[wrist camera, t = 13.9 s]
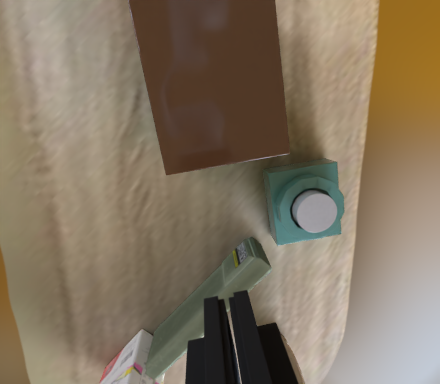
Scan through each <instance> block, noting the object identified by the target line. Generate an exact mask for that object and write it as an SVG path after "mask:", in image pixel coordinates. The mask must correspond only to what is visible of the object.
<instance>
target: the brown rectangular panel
mask: <svg viewBox="0 0 440 384" xmlns="http://www.w3.org/2000/svg"><path fill="white" fill-rule="evenodd" d="M128 4H129V8H130V13H131V17H132V22H133V26H134V31H135V36H136V40H137V45H138V49H139V54H140V58H141V63H142V68H143V72H144V77H145V81H146V86H147V90H148V95H149V100H150V104H151V109H152V113H153V118H154V122H155V127H156V132H157V136H158V141H159V145H160V150H161V154H162V159H163V164H164V168H165V173H166V175H172V174H177V173H183V172H189V171H194V170H200V169H206V168H212V167H217V166H223V165H229V164H235V163H240V162H246V161H252V160H257V159H263V158H269V157H275V156H280V155H286V154H290V147H289V137H288V127H287V117H286V107H285V96H284V86H283V76H282V66H281V56H280V46H279V35H278V25H277V15H276V5H275V0H128Z"/></svg>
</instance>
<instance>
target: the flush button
mask: <svg viewBox="0 0 440 384" xmlns="http://www.w3.org/2000/svg"><path fill="white" fill-rule="evenodd" d="M292 215H293V218H294V219H295V221H296V222H297V223H298V224H299V225H300V226H301V227H302V228H303V229H304V230H306V231H308V232H313V233H317V232H322V231H324V230H326V229H328V228H329V227H330V226H331V225H332V224H333V222H334V221H335V219H336V215H337V207H336V204H335V202H334V200H333V199H332V198H331V197H329V196H328V195H326V194H324V193H323V192H321V191H318V190H308V191H305V192H303V193H301V194H300V195H299V196H298V197H297V198H296V199H295V201H294V203H293V206H292Z"/></svg>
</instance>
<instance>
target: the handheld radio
mask: <svg viewBox="0 0 440 384" xmlns="http://www.w3.org/2000/svg"><path fill="white" fill-rule="evenodd" d="M271 270H272V268H271V266H270V263H269V261H268V259H267V257H266V254H265V252H264V250H263V248H262V246H261V244H260V243H259V242H258V241H257V240H255V239H254V238H253V237H249V238H248V239H245V240H244V241H243V242H242V243H241V244H240V245H239V246H238V247H237V248H236V249H235V250H234V251H232V252H231V253H230V254H229V255H228V256H227V257H226V258H225V259H224V260H223V262H222V264H221V265H220V266H219V267H218V268H217V269H216V270H215V271H214V272H213V273H212V274H211V275H210V276H209V277H208V278H207V279H206V280H205V281H204V282H203V283H202V284H201V285H200V286H199V287H198V288H197V289H196V290H195V291H194V292H193V293H192V294H191V295H190V296H189V297H188V298H187V299H186V300H185V301H184V302H183V303H182V304H181V305H180V306H179V307H178V308H177V309H176V310H175V311H174V312H173V313H172V314H171V315H170V316H169V317H168V318H167V319H166V320H165V321H164V322H163V323H162V324H161V325H160V326H159V327H158V328H157V329H156V330H155V332H154V336H153V339H152V343H151V347H150V351H149V354H148V358H147V362H146V372H145V374H146V375H148V376H149V377H150V378H152V379H153V380H154V379H155V378H158V377H160V376H161V375H162V374H164V373H165V372H166V371H167V370H168V369H169V368H170V367H171V366H172V365H173V364H174V363H175V362H176V361H177V360H178V359H179V358H180V357H181V356H182V355H184V354H185V353H186V352H187V345H188V341H189V340H193V339H198V338H201V337H203V336H204V298H209V297H214V296H218V298H219V299H224V301H225V306H226V310H227V313H228V312H229V311H230V305H229V299H228V298H229V297H234V294H233V292H238V291H243V290H247V291H248V293H249V292H250V291H251V290H252V289H253V288H254V287H255V286H256V285H257V284H258V283H259V282H260V281H261V280H262V279H263V278H264V277H265V276H266V275H267V274H268V273H269V272H271Z"/></svg>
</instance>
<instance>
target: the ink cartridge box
mask: <svg viewBox="0 0 440 384" xmlns="http://www.w3.org/2000/svg"><path fill="white" fill-rule="evenodd" d="M152 339H153V336H152V335H151V334H149V333H148V332H146V331H145V330H143V329H141V330H140V331H139V332H138V333H137V335H136V336H135V337H134V338H133V339H132V340H131V341H130V342H129V343H128V344H127V345H126V346H125V347H124V348H123V349H122V350H121V351H120V352H119V354H118V355H117V356H116V357H115V358H114V359H113V360H112V361H111V362H110V363H109V364H108V365H107V366H106V367H105V370H104V372H103V375H102V378H101V380H100V383H99V384H163V379H164V374H162V375H161V376H160V377H158V378H155V379H154V380H153V379H152V378H150V377H149V376H148V375H146V374H145V372H146V362H147V358H148V354H149V351H150V347H151V343H152Z"/></svg>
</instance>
